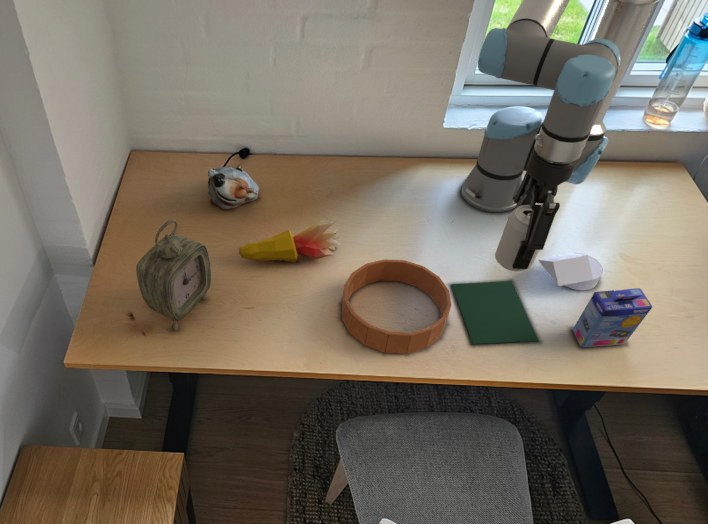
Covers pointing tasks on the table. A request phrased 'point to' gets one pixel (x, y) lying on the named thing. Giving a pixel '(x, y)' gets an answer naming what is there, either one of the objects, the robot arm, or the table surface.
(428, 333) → the brown wooden ring
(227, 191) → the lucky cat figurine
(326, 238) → the torch
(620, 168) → the table surface
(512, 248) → the can
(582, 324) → the ink cartridge box
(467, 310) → the felt mat
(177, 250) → the tabletop clock
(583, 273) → the wedge on round base
